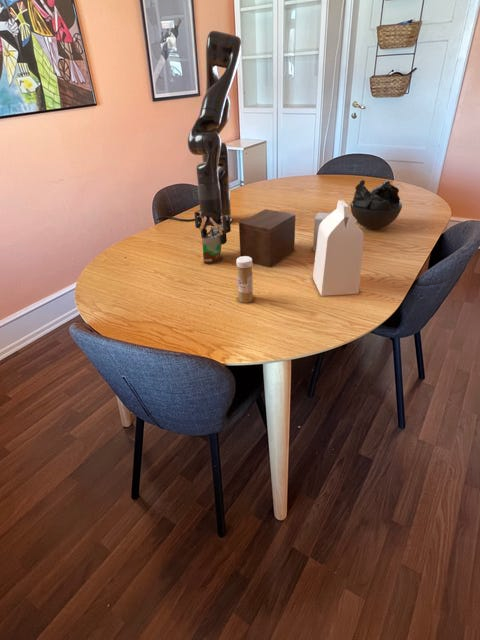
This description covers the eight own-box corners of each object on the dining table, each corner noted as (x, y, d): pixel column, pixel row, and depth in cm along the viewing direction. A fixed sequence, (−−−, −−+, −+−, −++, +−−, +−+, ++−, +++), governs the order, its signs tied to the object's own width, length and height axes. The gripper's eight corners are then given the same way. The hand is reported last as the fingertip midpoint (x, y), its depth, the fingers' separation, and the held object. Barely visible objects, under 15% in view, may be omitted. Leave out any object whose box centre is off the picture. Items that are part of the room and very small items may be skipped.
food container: (219, 266, 136) (219, 240, 131) (202, 264, 137) (202, 238, 132) (226, 252, 146) (227, 227, 141) (211, 251, 147) (211, 226, 142)
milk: (312, 277, 126) (318, 198, 111) (347, 275, 126) (356, 196, 112) (321, 295, 116) (328, 211, 101) (358, 293, 116) (370, 208, 102)
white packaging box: (334, 245, 147) (337, 213, 140) (332, 252, 142) (335, 219, 135) (315, 243, 150) (317, 211, 143) (312, 251, 144) (314, 218, 137)
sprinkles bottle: (235, 300, 116) (233, 259, 109) (245, 294, 119) (243, 254, 111) (247, 304, 114) (245, 263, 106) (256, 298, 116) (255, 257, 109)
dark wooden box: (240, 259, 140) (238, 222, 133) (265, 243, 152) (265, 209, 144) (270, 267, 134) (270, 229, 126) (294, 250, 145) (295, 214, 137)
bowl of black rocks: (408, 228, 158) (417, 181, 148) (374, 240, 150) (382, 191, 139) (370, 216, 173) (376, 173, 162) (338, 226, 164) (342, 181, 154)
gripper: (233, 195, 128) (236, 241, 136) (201, 191, 135) (205, 235, 144) (219, 201, 123) (223, 248, 131) (186, 196, 130) (192, 241, 139)
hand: (214, 241), depth 138 cm, fingers open, 8 cm apart
